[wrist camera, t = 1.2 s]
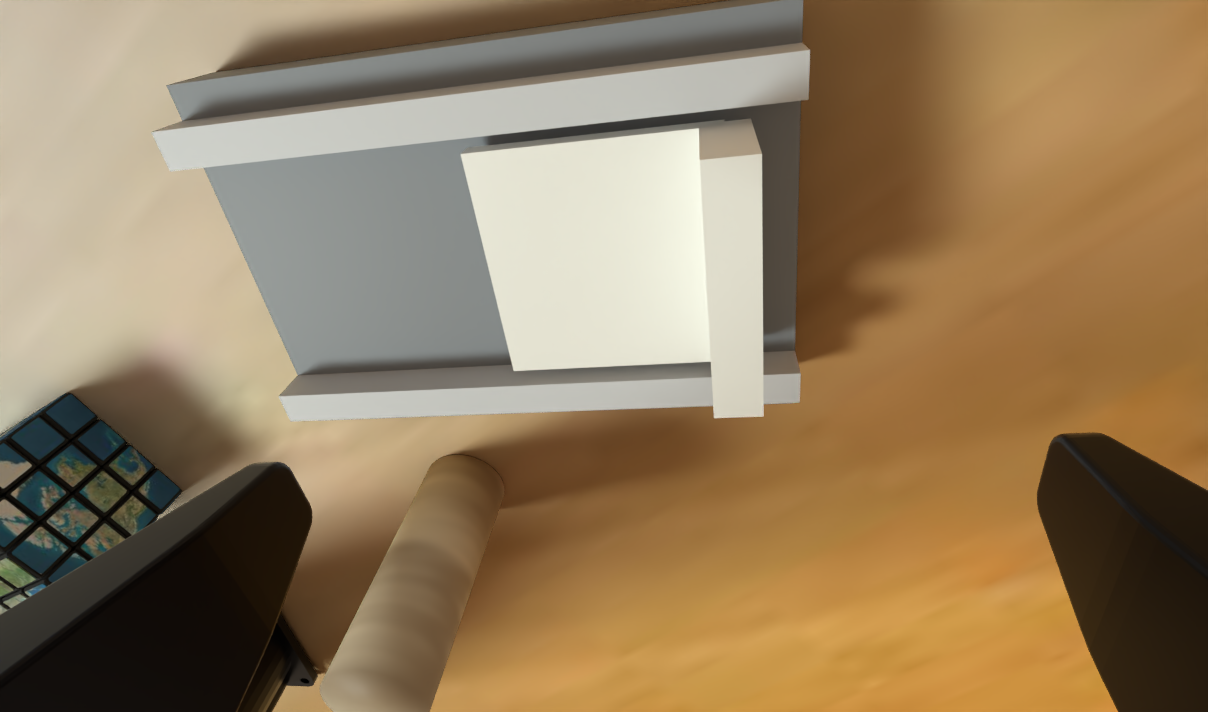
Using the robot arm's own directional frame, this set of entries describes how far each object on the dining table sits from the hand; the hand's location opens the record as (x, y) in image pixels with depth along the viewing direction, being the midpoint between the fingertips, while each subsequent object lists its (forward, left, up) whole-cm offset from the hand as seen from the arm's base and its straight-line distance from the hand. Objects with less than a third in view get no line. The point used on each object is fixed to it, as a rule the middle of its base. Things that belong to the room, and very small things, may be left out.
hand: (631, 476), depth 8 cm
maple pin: (-12, +9, -13) cm, 20 cm away
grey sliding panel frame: (-2, +5, -13) cm, 14 cm away
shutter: (-2, +1, -10) cm, 11 cm away
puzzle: (-11, +26, -13) cm, 31 cm away
